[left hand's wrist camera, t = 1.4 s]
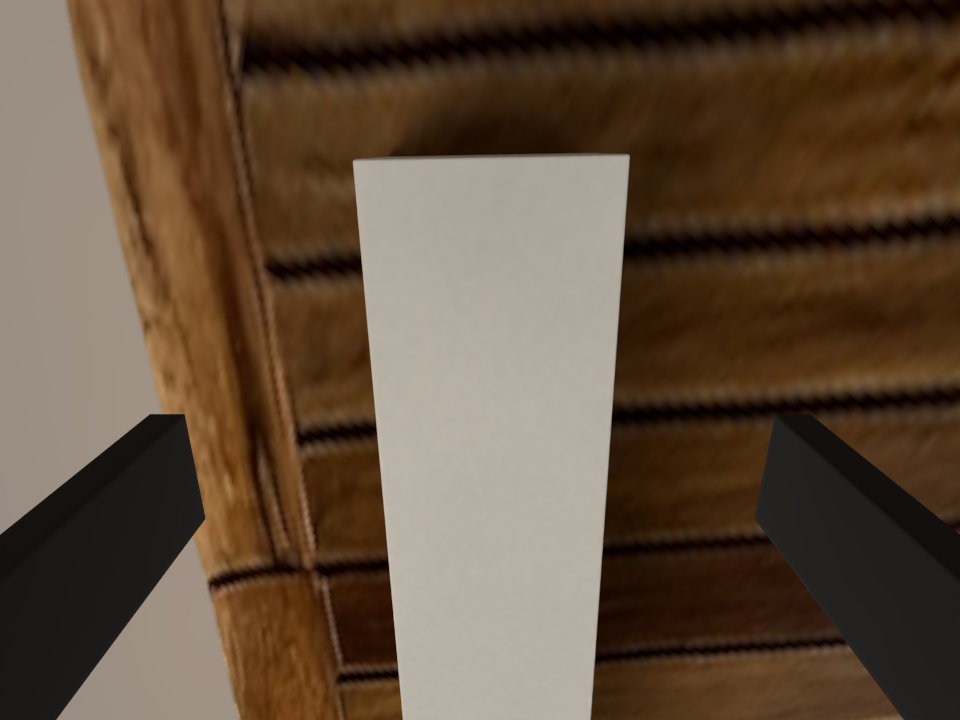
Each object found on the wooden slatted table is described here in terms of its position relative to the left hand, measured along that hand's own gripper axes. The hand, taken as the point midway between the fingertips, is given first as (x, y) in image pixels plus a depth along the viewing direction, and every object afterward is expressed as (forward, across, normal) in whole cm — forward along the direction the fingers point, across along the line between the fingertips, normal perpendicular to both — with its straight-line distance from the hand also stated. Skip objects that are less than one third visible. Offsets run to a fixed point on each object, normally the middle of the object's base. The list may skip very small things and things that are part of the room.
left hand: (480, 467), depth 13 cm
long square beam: (+15, +1, -26) cm, 30 cm away
